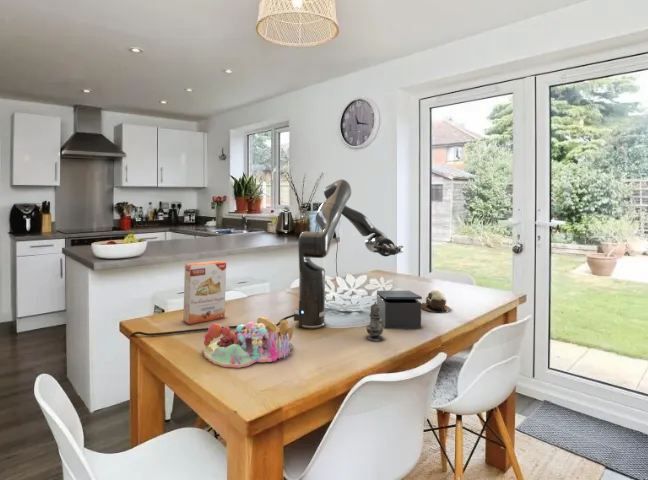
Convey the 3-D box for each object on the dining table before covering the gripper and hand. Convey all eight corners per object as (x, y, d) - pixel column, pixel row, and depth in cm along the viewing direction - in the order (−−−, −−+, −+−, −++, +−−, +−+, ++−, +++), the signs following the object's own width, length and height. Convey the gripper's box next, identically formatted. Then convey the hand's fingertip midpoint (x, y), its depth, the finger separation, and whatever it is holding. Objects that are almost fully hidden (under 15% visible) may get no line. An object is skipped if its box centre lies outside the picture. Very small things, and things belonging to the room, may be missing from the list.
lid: (422, 299, 144) (421, 296, 144) (385, 299, 143) (385, 296, 143) (409, 292, 159) (409, 290, 159) (376, 292, 159) (376, 290, 159)
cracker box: (189, 325, 144) (190, 265, 144) (182, 321, 149) (183, 263, 149) (225, 318, 153) (226, 261, 153) (218, 314, 158) (219, 259, 158)
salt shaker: (383, 342, 130) (383, 304, 130) (364, 340, 132) (365, 303, 132) (384, 336, 136) (384, 299, 136) (366, 334, 137) (366, 298, 137)
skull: (412, 302, 174) (426, 284, 176) (428, 318, 176) (442, 299, 178) (427, 309, 162) (442, 289, 164) (444, 326, 164) (459, 305, 166)
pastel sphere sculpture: (251, 331, 139) (252, 304, 139) (307, 347, 125) (308, 317, 125) (190, 355, 118) (190, 322, 118) (248, 377, 105) (249, 340, 105)
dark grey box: (420, 328, 145) (421, 303, 145) (385, 328, 144) (385, 303, 144) (409, 315, 159) (409, 292, 159) (376, 315, 159) (376, 292, 159)
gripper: (368, 237, 176) (376, 242, 159) (399, 237, 177) (410, 242, 160) (368, 254, 176) (376, 261, 159) (398, 255, 177) (410, 262, 160)
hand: (393, 252), depth 159 cm, fingers closed
